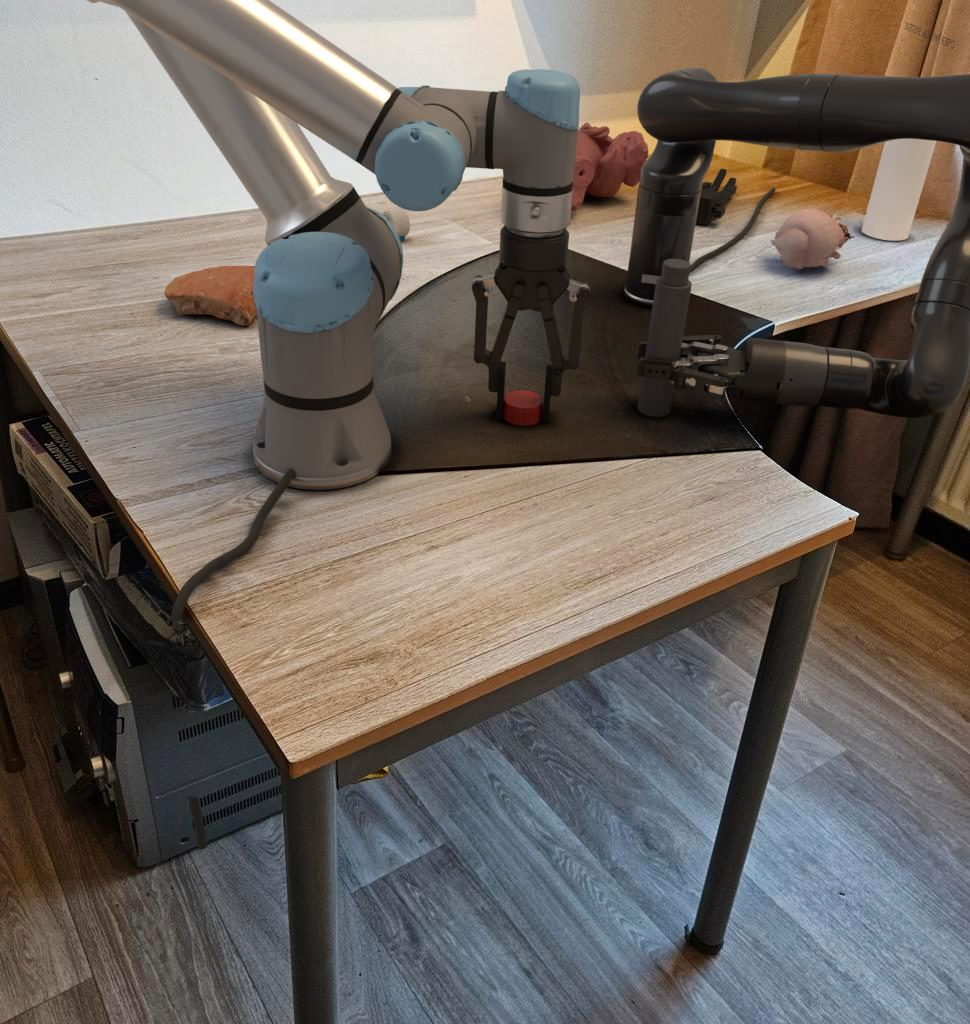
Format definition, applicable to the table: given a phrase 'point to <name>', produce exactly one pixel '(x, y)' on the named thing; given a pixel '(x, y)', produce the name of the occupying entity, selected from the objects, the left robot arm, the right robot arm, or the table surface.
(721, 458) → the table surface
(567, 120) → the left robot arm
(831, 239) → the toy
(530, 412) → the lid
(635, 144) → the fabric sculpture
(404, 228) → the electric motor
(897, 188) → the tall white tube
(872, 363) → the right robot arm
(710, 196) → the black forked piece
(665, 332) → the bottle
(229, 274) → the ceramic shard
